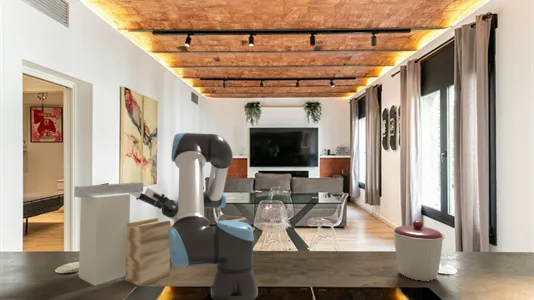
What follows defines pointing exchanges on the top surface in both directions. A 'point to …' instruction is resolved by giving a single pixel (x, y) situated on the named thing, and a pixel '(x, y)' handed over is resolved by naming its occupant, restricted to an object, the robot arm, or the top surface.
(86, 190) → the rail
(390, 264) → the top surface
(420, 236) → the canister
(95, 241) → the unit
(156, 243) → the light brown boxy piece
